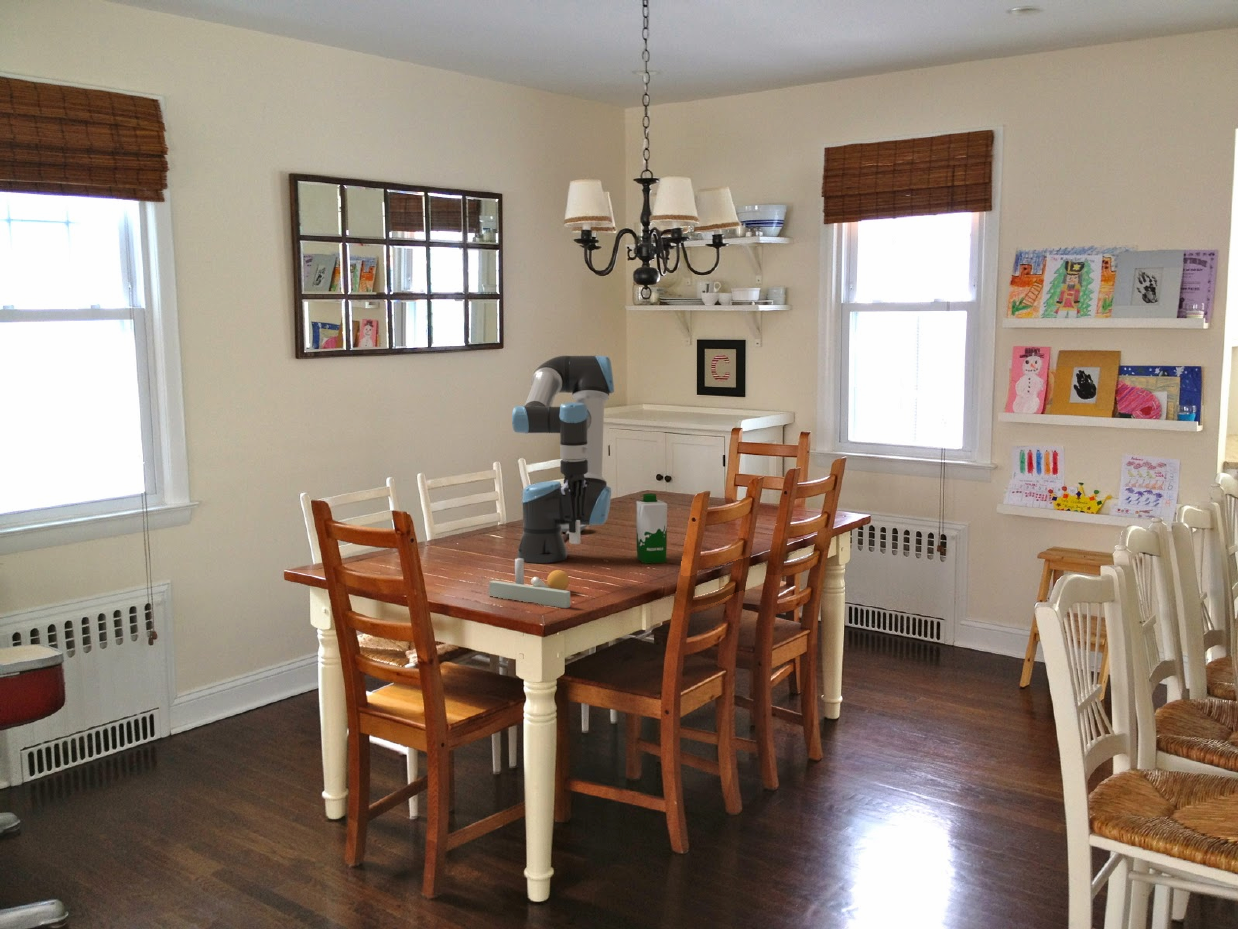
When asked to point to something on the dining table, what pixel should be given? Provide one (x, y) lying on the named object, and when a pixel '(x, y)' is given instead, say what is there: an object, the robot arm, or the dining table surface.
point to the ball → (558, 580)
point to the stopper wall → (530, 594)
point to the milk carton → (651, 529)
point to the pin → (538, 582)
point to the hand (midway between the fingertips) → (574, 543)
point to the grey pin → (519, 571)
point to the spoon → (566, 529)
